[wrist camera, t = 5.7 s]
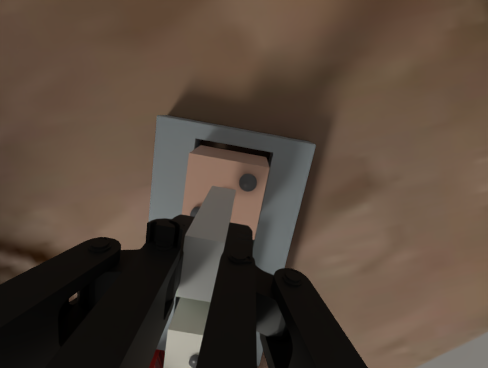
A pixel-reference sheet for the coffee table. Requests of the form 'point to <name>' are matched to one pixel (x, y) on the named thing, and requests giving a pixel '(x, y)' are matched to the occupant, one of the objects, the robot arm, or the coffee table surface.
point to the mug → (158, 359)
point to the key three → (227, 182)
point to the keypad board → (275, 196)
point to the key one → (186, 333)
